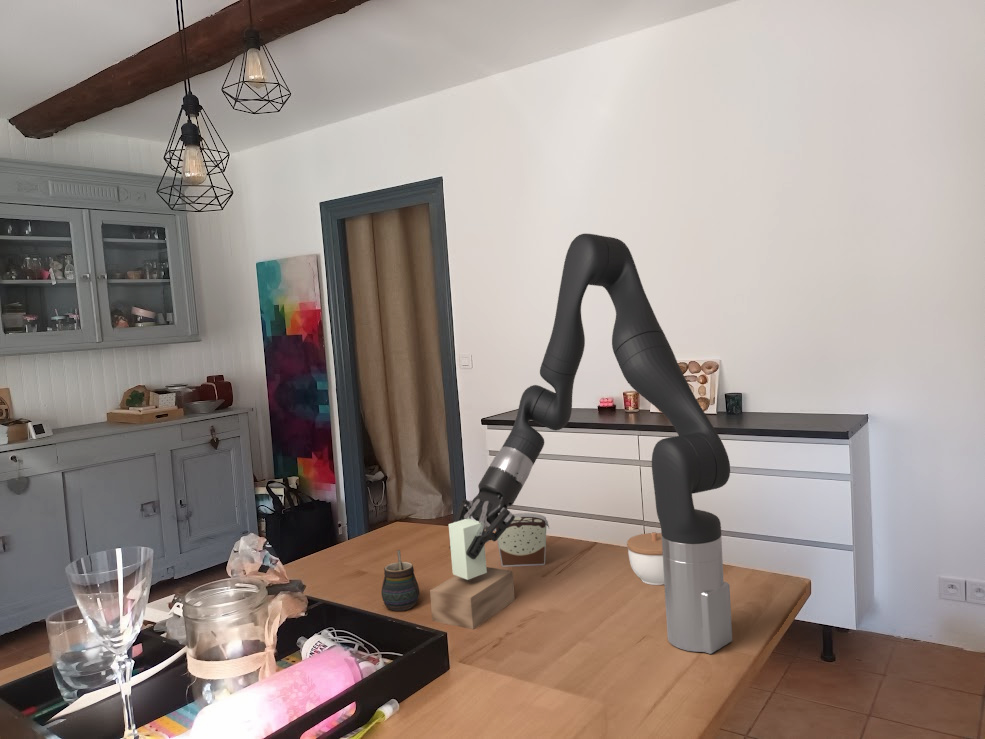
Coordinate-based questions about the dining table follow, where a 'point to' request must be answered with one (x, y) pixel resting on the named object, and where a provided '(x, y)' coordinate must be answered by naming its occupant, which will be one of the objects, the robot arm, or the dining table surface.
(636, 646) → the dining table surface
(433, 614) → the walnut block
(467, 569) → the sage block
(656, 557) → the lidded jar
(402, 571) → the mate gourd
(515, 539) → the food container
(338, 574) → the dining table surface
